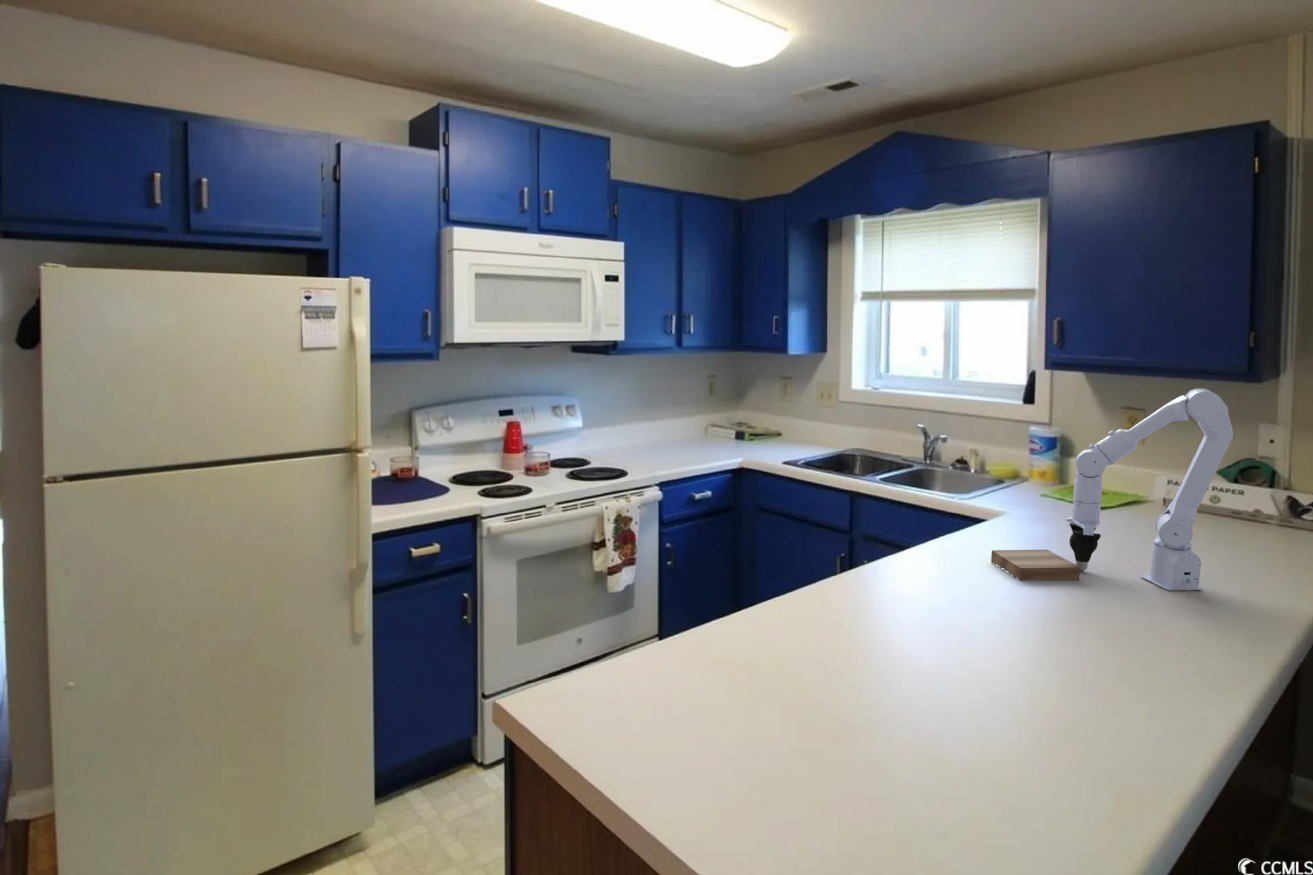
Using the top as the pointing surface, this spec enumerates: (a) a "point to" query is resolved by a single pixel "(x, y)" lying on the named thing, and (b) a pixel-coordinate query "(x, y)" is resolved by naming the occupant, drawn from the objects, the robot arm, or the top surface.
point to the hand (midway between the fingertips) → (1082, 557)
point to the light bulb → (1074, 547)
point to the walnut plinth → (1035, 565)
